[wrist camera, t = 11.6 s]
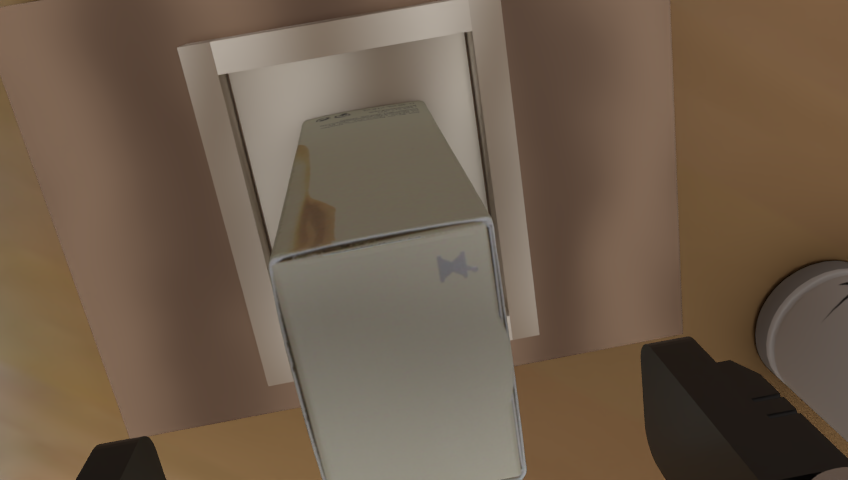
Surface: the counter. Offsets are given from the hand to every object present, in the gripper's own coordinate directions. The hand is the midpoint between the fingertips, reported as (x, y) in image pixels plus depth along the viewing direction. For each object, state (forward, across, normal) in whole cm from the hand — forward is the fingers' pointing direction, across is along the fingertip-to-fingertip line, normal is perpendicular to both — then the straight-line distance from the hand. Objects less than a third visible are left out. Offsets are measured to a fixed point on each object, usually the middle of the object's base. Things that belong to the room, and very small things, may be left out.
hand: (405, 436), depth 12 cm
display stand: (+19, 0, 0) cm, 19 cm away
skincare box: (+15, 0, 0) cm, 15 cm away
